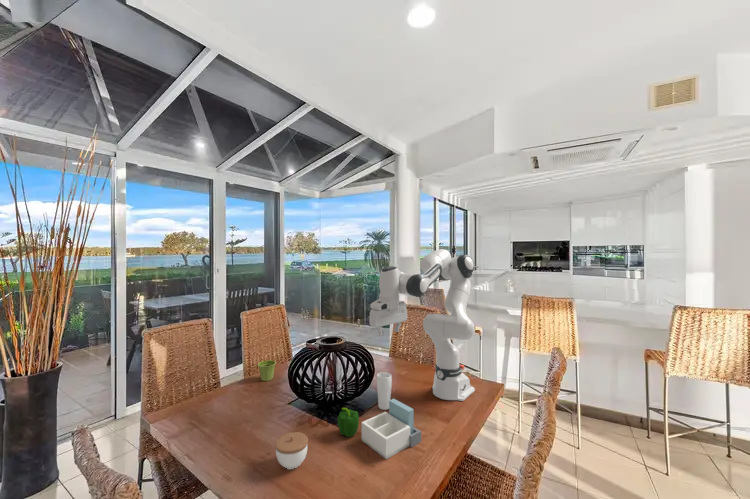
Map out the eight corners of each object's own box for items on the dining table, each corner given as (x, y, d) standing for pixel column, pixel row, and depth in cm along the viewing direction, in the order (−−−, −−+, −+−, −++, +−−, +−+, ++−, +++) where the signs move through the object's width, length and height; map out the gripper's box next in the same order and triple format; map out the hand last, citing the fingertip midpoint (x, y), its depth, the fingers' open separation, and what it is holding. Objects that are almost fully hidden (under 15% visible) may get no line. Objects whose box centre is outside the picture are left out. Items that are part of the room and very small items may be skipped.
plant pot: (255, 378, 180) (254, 363, 180) (271, 374, 187) (271, 358, 186) (262, 384, 173) (262, 368, 173) (279, 379, 180) (278, 363, 179)
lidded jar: (279, 454, 117) (279, 428, 117) (309, 452, 118) (309, 426, 117) (272, 475, 106) (272, 446, 106) (306, 473, 107) (305, 445, 107)
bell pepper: (363, 431, 131) (363, 406, 131) (351, 442, 124) (351, 415, 124) (346, 425, 135) (346, 401, 135) (333, 435, 128) (333, 410, 128)
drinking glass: (390, 412, 145) (390, 378, 145) (375, 410, 147) (375, 377, 146) (392, 404, 152) (392, 372, 152) (378, 403, 153) (378, 371, 153)
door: (393, 427, 133) (393, 398, 133) (413, 440, 125) (413, 409, 125) (388, 430, 132) (389, 400, 131) (408, 443, 123) (408, 411, 123)
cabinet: (392, 423, 136) (392, 406, 136) (421, 441, 124) (421, 423, 124) (359, 439, 126) (359, 421, 125) (388, 460, 113) (388, 440, 113)
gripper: (400, 299, 156) (400, 328, 157) (367, 304, 143) (367, 336, 144) (410, 301, 151) (410, 331, 152) (376, 307, 138) (376, 339, 139)
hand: (389, 333), depth 148 cm, fingers open, 8 cm apart
